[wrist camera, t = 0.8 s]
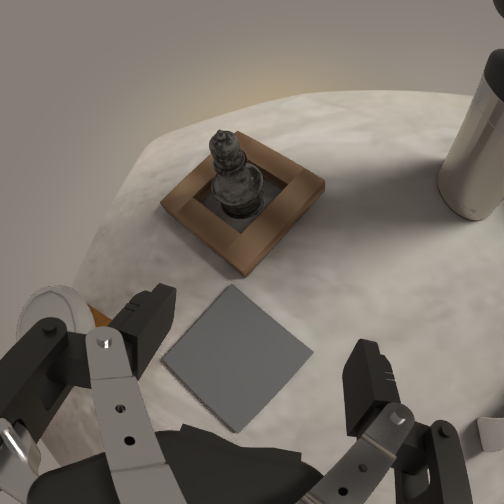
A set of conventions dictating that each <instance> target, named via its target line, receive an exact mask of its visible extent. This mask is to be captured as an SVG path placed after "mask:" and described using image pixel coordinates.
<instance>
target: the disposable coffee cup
mask: <svg viewBox="0 0 504 504" xmlns="http://www.w3.org/2000/svg"><path fill="white" fill-rule="evenodd" d="M46 317H55V318H59V319H61V320H62V321H64V322H65V324H66V326H67V331H69V332H75V333H81V334H87V333H88V332H89V331H90V330H92V329H94V328H96V327H102V326H105V327H107V326H108V324H109V323H110V322H111V321H112V320H111V319H109V318H108V317H106V316H105V315H103V314H102V313H100V312H99V311H97V310H96V309H94V308H93V307H92V306H90V305H89V304H87V303H86V302H85V300H84V299H83V297H82V296H81V295H80V294H79V293H77V292H76V291H75V290H74V289H72V288H70V287H68V286H54V287H52V286H48V287H45V288H42V289H40V290H38V291H36V292H35V293H34V294H33V295H32V296H31V297H30V298H29V299H28V301H27V302H26V304H25V305H24V307H23V309H22V312H21V314H20V317H19V321H18V325H17V333H16V343H17V342H18V341H19V340H20V339H21V338H22V337H23V335H24V334H25V333H26V332H27V331H28V330H29V329H30V328H31V327H32V326H33V325H34V324H35V323H36V322H38V321H39V320H40V319H43V318H46Z"/></svg>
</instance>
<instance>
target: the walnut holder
mask: <svg viewBox="0 0 504 504" xmlns="http://www.w3.org/2000/svg"><path fill="white" fill-rule="evenodd" d="M234 134H235V135H236V136H237V138H238V141H239V144H240V148H241V150H242V151H243V152H245V154H246V156H247V163H249V164H251V165H253V166H255V167H256V168H258V169H259V170H260V172H261V174H262V176H263V177H264V178H265V179H267V180H268V181H270V182H272V183H273V184H275V185H276V186H278V187H279V188H281V189H283V191H282V192H281V193H280V194H279V195H278V196H277V197H276V198H275V199H274V200H273V201H272V202H271V203H270V204H269V205H268V206H267V207H266V208H265V209H264V210H263V211H262V213H261V214H260V215H259V216H258V217H257V218H256V219H255V220H254V221H253V222H252V223H251V224H250V225H249V226H248V227H247V228H246V229H245V230H244V231H243V232H242V234H240V233H239V232H238V231H236V230H235V229H234V228H232V227H231V226H230V225H228V224H227V223H226V222H224V221H223V220H222V219H221V218H219V217H218V216H217V215H215V214H214V213H213V212H211V211H210V210H209V209H207V208H206V207H205V206H204V205H202V204H201V202H202V201H203V200H204V199H205V198H206V197H207V196H208V195H209V194H210V193H211V192H212V189H211V185H212V180H213V178H214V176H215V175H216V174H217V173H216V172H215V171H214V169H213V160H214V159H213V156H212V154H210V155H209V156H208V157H207V158H206V159H205V160H204V161H203V162H202V163H200V164H199V165H198V166H197V167H196V168H195V169H194V170H193V171H192V172H191V173H190V174H189V175H188V176H187V177H185V178H184V179H183V180H182V181H181V182H180V183H179V184H178V185H177V186H176V187H175V188H174V189H173V190H172V191H171V192H170V193H169V194H168V195H167V196H166V197H165V198H164V199H163V200H162V201H161V202H160V203H161V205H162V206H163V207H164V209H165V210H166V211H167V212H168V213H169V214H171V215H172V216H173V217H174V218H175V219H176V220H178V221H179V222H180V223H181V224H182V225H183V226H185V227H186V228H187V229H188V230H189V231H190V232H192V233H193V234H194V235H195V236H196V237H198V238H199V239H200V240H201V241H202V242H203V243H205V244H206V245H207V246H208V247H209V248H211V249H212V250H213V251H214V252H215V253H216V254H218V255H219V256H220V257H221V258H222V259H224V260H225V261H226V262H227V263H228V264H230V265H231V266H232V267H233V268H234V269H236V270H237V271H238V272H239V273H240V274H242V275H243V276H244V277H245V278H246V277H247V276H248V275H249V274H250V273H251V272H252V271H253V270H254V268H255V267H256V266H257V265H258V264H259V263H260V262H261V261H262V260H263V258H264V257H265V256H266V255H267V254H268V253H269V252H270V251H271V250H272V249H273V247H274V246H275V245H276V244H277V243H278V242H279V241H280V240H281V239H282V237H283V236H284V235H285V234H286V233H287V232H288V231H289V230H290V229H291V227H292V226H293V225H294V224H295V223H296V222H297V221H298V220H299V218H300V217H301V216H302V215H303V214H304V213H305V212H306V211H307V210H308V208H309V207H310V206H311V205H312V204H313V203H314V202H315V201H316V199H317V198H318V197H319V196H320V195H321V194H322V193H323V192H324V190H325V180H323V179H322V178H320V177H318V176H317V175H315V174H314V173H312V172H310V171H309V170H307V169H305V168H304V167H302V166H300V165H298V164H297V163H295V162H293V161H292V160H290V159H288V158H286V157H285V156H283V155H281V154H279V153H278V152H276V151H274V150H272V149H271V148H269V147H267V146H265V145H263V144H262V143H260V142H258V141H256V140H254V139H252V138H250V137H249V136H247V135H245V134H243V133H241V132H239V131H237V132H235V133H234Z"/></svg>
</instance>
